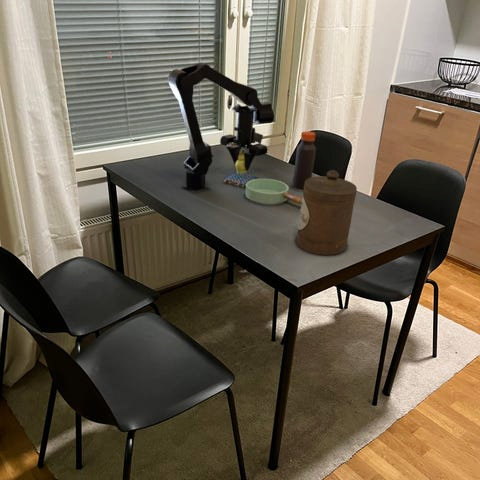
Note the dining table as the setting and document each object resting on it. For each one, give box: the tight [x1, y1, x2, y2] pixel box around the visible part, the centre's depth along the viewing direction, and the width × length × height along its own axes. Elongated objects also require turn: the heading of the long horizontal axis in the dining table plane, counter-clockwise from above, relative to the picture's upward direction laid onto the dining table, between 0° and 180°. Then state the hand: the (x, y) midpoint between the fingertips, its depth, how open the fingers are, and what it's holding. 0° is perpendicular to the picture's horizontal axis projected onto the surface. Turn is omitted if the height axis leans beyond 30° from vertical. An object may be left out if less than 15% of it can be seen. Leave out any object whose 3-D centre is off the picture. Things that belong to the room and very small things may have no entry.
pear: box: [234, 149, 248, 174], centre depth 181 cm, size 5×5×8 cm
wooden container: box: [296, 169, 358, 256], centre depth 140 cm, size 15×15×22 cm
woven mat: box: [223, 171, 259, 188], centre depth 185 cm, size 10×11×2 cm
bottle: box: [291, 131, 317, 191], centre depth 179 cm, size 7×7×20 cm
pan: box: [244, 178, 290, 205], centre depth 174 cm, size 15×15×4 cm
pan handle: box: [283, 192, 303, 206], centre depth 166 cm, size 2×12×2 cm, turn 47°
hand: (241, 168), depth 183 cm, fingers closed on pear, 5 cm apart
